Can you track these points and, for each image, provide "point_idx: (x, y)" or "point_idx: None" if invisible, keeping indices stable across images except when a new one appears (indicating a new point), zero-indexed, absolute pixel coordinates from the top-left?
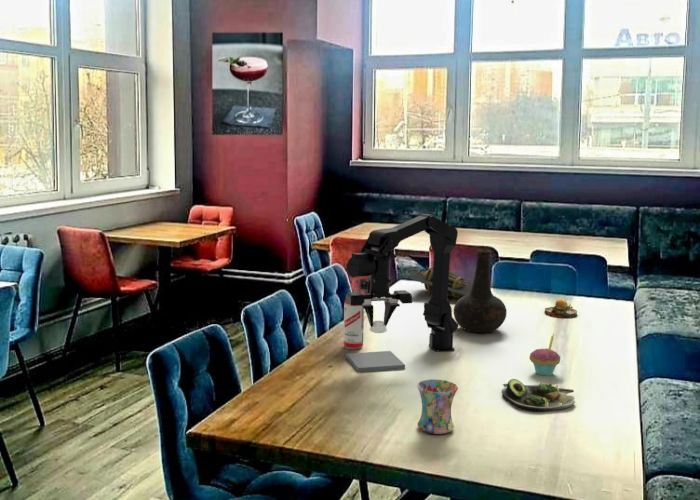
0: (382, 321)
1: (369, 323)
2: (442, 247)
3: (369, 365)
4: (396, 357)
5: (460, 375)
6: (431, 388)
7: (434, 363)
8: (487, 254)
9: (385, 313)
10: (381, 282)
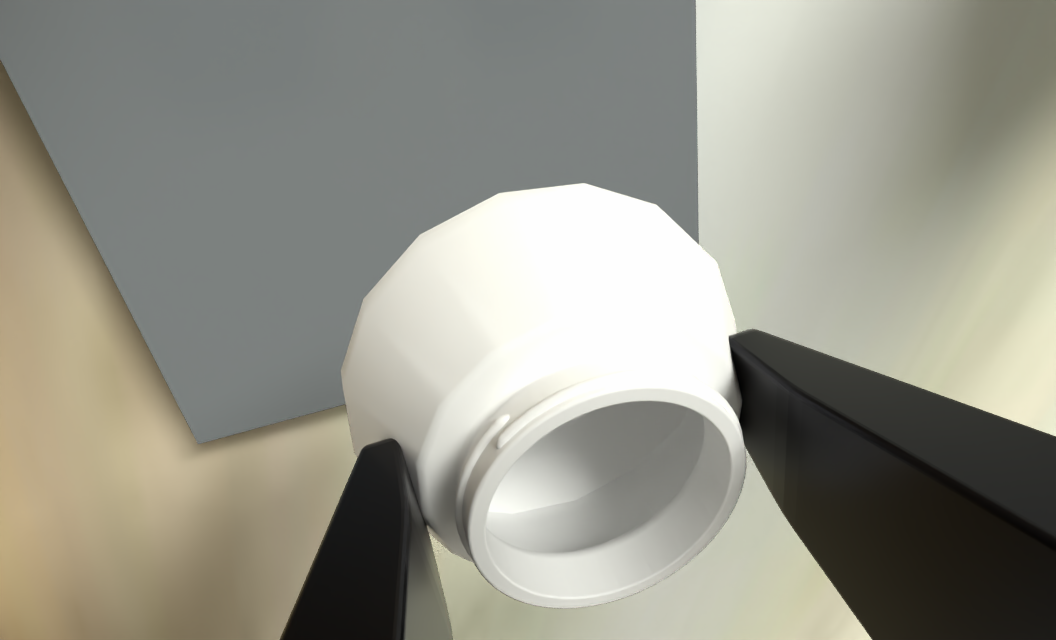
0: (730, 446)
1: (344, 499)
2: None
3: (324, 358)
4: (686, 54)
5: (1011, 392)
6: None
7: (1001, 113)
8: None
9: (981, 592)
10: None
